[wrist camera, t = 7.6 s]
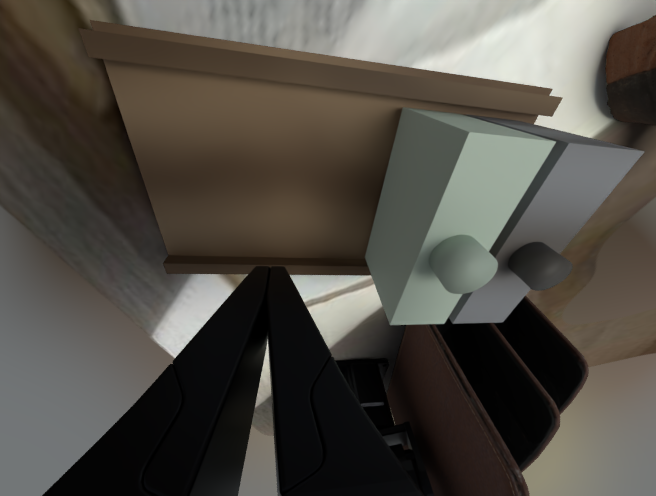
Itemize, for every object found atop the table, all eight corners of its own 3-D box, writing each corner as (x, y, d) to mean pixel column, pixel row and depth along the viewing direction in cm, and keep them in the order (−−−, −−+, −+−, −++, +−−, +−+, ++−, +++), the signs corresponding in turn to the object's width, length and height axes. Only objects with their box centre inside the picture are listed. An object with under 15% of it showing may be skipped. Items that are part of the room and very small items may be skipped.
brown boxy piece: (446, 263, 20) (519, 357, 13) (178, 259, 17) (107, 377, 10) (536, 87, 13) (776, 108, 6) (106, 23, 10) (-247, -56, 3)
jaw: (405, 258, 17) (456, 344, 12) (364, 257, 17) (397, 346, 11) (460, 113, 12) (594, 152, 7) (402, 107, 12) (496, 142, 6)
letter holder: (385, 393, 34) (430, 558, 22) (411, 293, 22) (535, 535, 11) (454, 384, 34) (532, 539, 23) (516, 283, 23) (736, 498, 11)
